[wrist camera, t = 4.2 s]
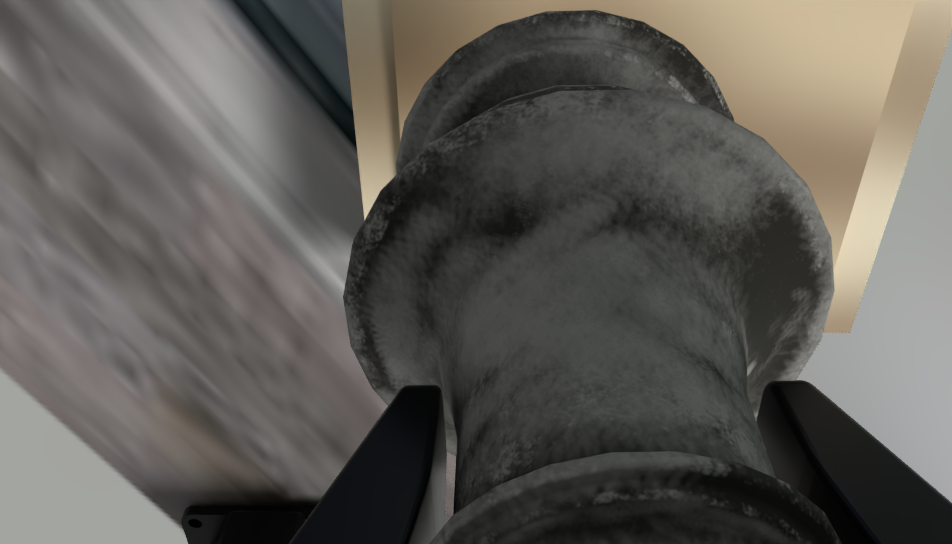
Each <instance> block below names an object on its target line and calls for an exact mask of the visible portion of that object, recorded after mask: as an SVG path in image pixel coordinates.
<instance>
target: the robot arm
mask: <svg viewBox="0 0 952 544" xmlns="http://www.w3.org/2000/svg"><path fill="white" fill-rule="evenodd" d="M756 422H757V425H758V428H759V430H760V433H761V436H762V439H763V442H764V445H765V447H766V450H767V453H768V456H769V459H770V462H771V464H772V467H773V470H774V473H775V476H776V478H777V479H779V480H781V481H784V482H786V483H789V484H790V485H791V486H793V487H794V488H795V489H796V490H797V491H799V492H800V493H801V494H802V495H804V496H805V497H806V498H807V499H809V500H810V501H811V502H812V503H814V504H815V505H816V506H817V507H819V508H820V509H821V510H822V511H823V512H825V514H826V516H827V518H828V520H829V521H830V523H831V525H832V527H833V529H834V530H835V532H836V534H837V536H838V538H839V539H840V541H841V543H842V544H952V503H951V502H950V501H949V500H948V499H946V498H945V497H944V496H943V495H942V494H940V493H939V492H938V491H937V490H936V489H935V488H934V487H932V486H931V485H930V484H929V483H928V482H927V481H925V480H924V479H923V478H922V477H921V476H919V475H918V474H917V473H916V472H915V471H914V470H912V469H911V468H910V467H909V466H908V465H906V464H905V463H904V462H903V461H902V460H901V459H899V458H898V457H897V456H896V455H895V454H894V453H892V452H891V451H890V450H889V449H888V448H886V447H885V446H884V445H883V444H882V443H881V442H879V441H878V440H877V439H876V438H875V437H874V436H872V435H871V434H870V433H869V432H867V430H865V429H864V428H863V427H862V426H861V425H859V424H858V423H857V422H856V421H855V420H854V419H852V418H851V417H850V416H849V415H848V414H846V413H845V412H844V411H843V410H842V409H841V408H839V407H838V406H837V405H836V404H835V403H834V402H832V401H831V400H830V399H829V398H828V397H826V396H825V395H824V394H823V393H822V392H821V391H819V390H818V389H817V388H816V387H814V386H813V385H812V384H810V383H809V382H806V381H802V380H801V381H800V380H798V381H771V382H769V383H768V384H767V385H766V386H765V388H764V390H763V394H762V398H761V403H760V407H759V411H758V416H757V420H756ZM446 458H447V449H446V431H445V418H444V406H443V395H442V390H441V388H440V387H439V386H437V385H406V386H404V387H402V388H401V389H400V390H399V392H398V393H397V395H396V396H395V397H394V399H393V400H392V401H391V403H390V404H389V406H388V407H387V408H386V410H385V411H384V413H383V414H382V415H381V417H380V418H379V419H378V421H377V422H376V424H375V425H374V426H373V428H372V429H371V431H370V432H369V433H368V435H367V436H366V437H365V439H364V440H363V442H362V443H361V444H360V446H359V447H358V449H357V450H356V451H355V453H354V454H353V455H352V457H351V458H350V460H349V461H348V462H347V464H346V465H345V467H344V468H343V469H342V471H341V472H340V474H339V475H338V476H337V478H336V479H335V480H334V482H333V483H332V485H331V486H330V487H329V489H328V490H327V492H326V493H325V494H324V496H323V497H322V498H321V500H320V501H319V503H318V504H317V505H316V507H262V506H190V507H188V508H186V510H185V512H184V514H183V517H182V520H181V523H182V526H183V529H184V532H185V535H186V538H187V541H188V544H429V543H430V542H431V541H432V540H433V539H434V537H435V536H436V535H437V534H438V532H439V531H440V530H441V529H442V528H443V526H444V525H445V493H446Z"/></svg>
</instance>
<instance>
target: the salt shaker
mask: <svg viewBox="0 0 952 544" xmlns="http://www.w3.org/2000/svg"><path fill="white" fill-rule="evenodd" d="M396 172H397V175H396V176H395V177H394V178H393V179H392V180H391V181H390V182H389V183H388V184H387V185H386V186H385V187H384V188H383V189H382V190H381V191H380V193H379V195H378V196H377V198H376V200H375V202H374V204H373V206H372V208H371V209H370V211H369V213H368V215H367V217H366V219H365V221H364V222H363V224H362V226H361V228H360V230H359V232H358V233H357V235H356V237H355V239H354V241H353V245H352V250H351V256H350V262H349V267H348V273H347V278H346V284H345V290H344V295H343V299H344V306H345V312H346V318H347V325H348V331H349V338H350V344H351V347H352V349H353V351H354V353H355V355H356V357H357V359H358V361H359V363H360V365H361V367H362V369H363V371H364V373H365V375H366V377H367V379H368V381H369V383H370V385H371V387H372V389H373V390H374V391H375V392H376V393H377V394H378V395H379V396H380V397H381V398H382V399H383V400H384V402H385V403H386V404H387V405H388V406H389V404H390V403H391V401H392V400H393V399H394V397H395V396H396V395H397V393H398V392H399V390H400V389H401V388H402V387H404V386H406V385H437V386H439V387H440V388H441V390H442V395H443V406H444V418H445V431H446V449H447V452H449V453H450V454H453V455H456V474H455V494H454V513H453V516H452V517H451V518H450V519H449V520H448V522H447V523H446V524H445V525H444V526H443V528H442V529H441V530H440V531H439V532H438V534H437V535H436V536H435V537H434V539H433V540H432V541H431V542H430V543H429V544H842V543H841V541H840V539H839V538H838V536H837V534H836V532H835V530H834V529H833V527H832V525H831V523H830V521H829V520H828V518H827V516H826V514H825V512H823V511H822V510H821V509H820V508H819V507H817V506H816V505H815V504H814V503H812V502H811V501H810V500H809V499H807V498H806V497H805V496H804V495H802V494H801V493H800V492H799V491H797V490H796V489H795V488H794V487H793V486H791V485H790V484H789V483H786V482H784V481H781V480H779V479H777V478H776V476H775V473H774V470H773V467H772V464H771V462H770V459H769V456H768V453H767V450H766V447H765V445H764V442H763V439H762V436H761V433H760V430H759V428H758V425H757V422H756V420H757V416H758V411H759V407H760V403H761V398H762V394H763V390H764V388H765V386H766V385H767V384H768V383H769V382H771V381H796V379H797V378H798V376H799V375H800V373H801V371H802V369H803V368H804V367H805V365H806V363H807V362H808V360H809V359H810V357H811V355H812V354H813V352H814V351H815V349H816V347H817V346H818V344H819V343H820V341H821V338H822V334H823V331H824V327H825V324H826V320H827V317H828V313H829V309H830V306H831V302H832V299H833V295H834V291H835V288H834V272H833V256H832V240H831V236H830V234H829V232H828V229H827V227H826V225H825V223H824V220H823V218H822V216H821V214H820V211H819V209H818V207H817V205H816V202H815V200H814V198H813V195H812V193H811V191H810V189H809V187H808V185H807V183H806V182H805V181H804V180H803V179H802V178H801V177H800V176H799V175H798V174H797V173H796V172H795V171H794V169H793V168H792V167H791V166H790V165H789V164H788V163H787V162H786V161H785V160H784V159H783V158H782V157H781V156H780V155H779V154H778V153H777V151H776V150H775V149H774V148H773V147H772V146H771V145H770V144H769V143H768V142H767V141H766V140H765V139H764V138H762V137H761V136H759V135H757V134H755V133H753V132H752V131H750V130H748V129H746V128H744V127H742V126H741V125H739V124H737V123H735V122H734V118H733V116H732V113H731V111H730V109H729V107H728V105H727V103H726V101H725V99H724V97H723V94H722V92H721V90H720V88H719V86H718V84H717V82H716V80H715V78H714V77H713V75H712V74H711V73H710V72H709V71H708V70H707V69H706V68H705V67H704V66H703V65H702V64H701V63H700V62H699V61H698V59H697V58H696V57H695V56H694V55H693V54H692V53H691V52H690V51H689V50H688V49H687V48H686V47H685V46H684V45H683V44H681V43H680V42H678V41H676V40H674V39H673V38H671V37H669V36H667V35H666V34H664V33H662V32H660V31H659V30H657V29H655V28H654V27H652V26H650V25H648V24H647V23H645V22H643V21H638V20H634V19H630V18H626V17H622V16H618V15H614V14H610V13H606V12H602V11H598V10H579V11H545V12H542V13H538V14H535V15H532V16H528V17H525V18H521V19H518V20H514V21H511V22H507V23H504V24H501V25H498V26H496V27H494V28H493V29H491V30H489V31H488V32H486V33H484V34H483V35H481V36H479V37H478V38H476V39H474V40H473V41H471V42H469V43H468V44H466V45H464V46H463V47H461V48H459V49H458V50H456V51H455V52H454V53H453V54H452V55H451V56H450V57H449V58H448V60H447V61H446V62H445V63H444V64H443V65H442V66H441V67H440V68H439V69H438V70H437V71H436V72H435V73H434V74H433V75H432V76H431V77H430V78H429V79H428V80H427V81H426V82H425V84H424V86H423V87H422V89H421V91H420V93H419V95H418V97H417V99H416V101H415V103H414V104H413V106H412V108H411V110H410V112H409V114H408V116H407V118H406V120H405V122H404V127H403V132H402V136H401V141H400V146H399V151H398V156H397V161H396Z"/></svg>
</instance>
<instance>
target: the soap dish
mask: <svg viewBox="0 0 952 544" xmlns="http://www.w3.org/2000/svg"><path fill="white" fill-rule="evenodd" d="M342 9H343V18H344V28H345V38H346V47H347V57H348V67H349V76H350V86H351V95H352V105H353V115H354V124H355V134H356V144H357V153H358V163H359V172H360V182H361V192H362V201H363V211H364V221H365V219H366V217H367V215H368V213H369V211H370V209H371V208H372V206H373V204H374V202H375V200H376V198H377V196H378V195H379V193H380V191H381V190H382V189H383V188H384V187H385V186H386V185H387V184H388V183H389V182H390V181H391V180H392V179H393V178H394V177H395V176H396V175H397V172H396V161H397V156H398V151H399V146H400V141H401V136H402V132H403V127H404V122H405V120H406V118H407V116H408V114H409V112H410V110H411V108H412V106H413V104H414V103H415V101H416V99H417V97H418V95H419V93H420V91H421V89H422V87H423V86H424V84H425V82H426V81H427V80H428V79H429V78H430V77H431V76H432V75H433V74H434V73H435V72H436V71H437V70H438V69H439V68H440V67H441V66H442V65H443V64H444V63H445V62H446V61H447V60H448V58H449V57H450V56H451V55H452V54H453V53H454V52H455V51H456V50H458V49H459V48H461V47H463V46H464V45H466V44H468V43H469V42H471V41H473V40H474V39H476V38H478V37H479V36H481V35H483V34H484V33H486V32H488V31H489V30H491V29H493V28H494V27H496V26H498V25H501V24H504V23H507V22H511V21H514V20H518V19H521V18H525V17H528V16H532V15H535V14H538V13H542V12H545V11H579V10H598V11H602V12H606V13H610V14H614V15H618V16H622V17H626V18H630V19H634V20H638V21H643V22H645V23H647V24H648V25H650V26H652V27H654V28H655V29H657V30H659V31H660V32H662V33H664V34H666V35H667V36H669V37H671V38H673V39H674V40H676V41H678V42H680V43H681V44H683V45H684V46H685V47H686V48H687V49H688V50H689V51H690V52H691V53H692V54H693V55H694V56H695V57H696V58H697V59H698V61H699V62H700V63H701V64H702V65H703V66H704V67H705V68H706V69H707V70H708V71H709V72H710V73H711V74H712V75H713V77H714V78H715V80H716V82H717V84H718V86H719V88H720V90H721V92H722V94H723V97H724V99H725V101H726V103H727V105H728V107H729V109H730V111H731V113H732V116H733V118H734V122H735V123H737V124H739V125H741V126H742V127H744V128H746V129H748V130H750V131H752V132H753V133H755V134H757V135H759V136H761V137H762V138H764V139H765V140H766V141H767V142H768V143H769V144H770V145H771V146H772V147H773V148H774V149H775V150H776V151H777V153H778V154H779V155H780V156H781V157H782V158H783V159H784V160H785V161H786V162H787V163H788V164H789V165H790V166H791V167H792V168H793V169H794V171H795V172H796V173H797V174H798V175H799V176H800V177H801V178H802V179H803V180H804V181H805V182H806V183H807V185H808V187H809V189H810V191H811V193H812V195H813V198H814V200H815V202H816V205H817V207H818V209H819V211H820V214H821V216H822V218H823V220H824V223H825V225H826V227H827V229H828V232H829V234H830V236H831V240H832V256H833V272H834V288H835V291H834V295H833V299H832V302H831V306H830V309H829V313H828V317H827V320H826V324H825V327H824V331H823V333H825V332H827V333H830V332H831V333H850V331H851V328H852V325H853V322H854V319H855V316H856V313H857V310H858V307H859V304H860V301H861V298H862V295H863V292H864V290H865V287H866V283H867V280H868V278H869V275H870V272H871V269H872V266H873V263H874V259H875V257H876V254H877V251H878V248H879V245H880V242H881V239H882V236H883V233H884V230H885V227H886V224H887V221H888V218H889V215H890V212H891V209H892V206H893V203H894V200H895V197H896V195H897V192H898V188H899V186H900V182H901V180H902V176H903V174H904V171H905V168H906V165H907V162H908V159H909V156H910V153H911V150H912V147H913V144H914V141H915V138H916V135H917V132H918V129H919V126H920V123H921V120H922V117H923V114H924V111H925V108H926V105H927V102H928V99H929V96H930V93H931V91H932V88H933V85H934V81H935V79H936V76H937V73H938V69H939V67H940V64H941V61H942V57H943V55H944V52H945V49H946V46H947V43H948V40H949V37H950V34H951V31H952V0H342Z"/></svg>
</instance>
